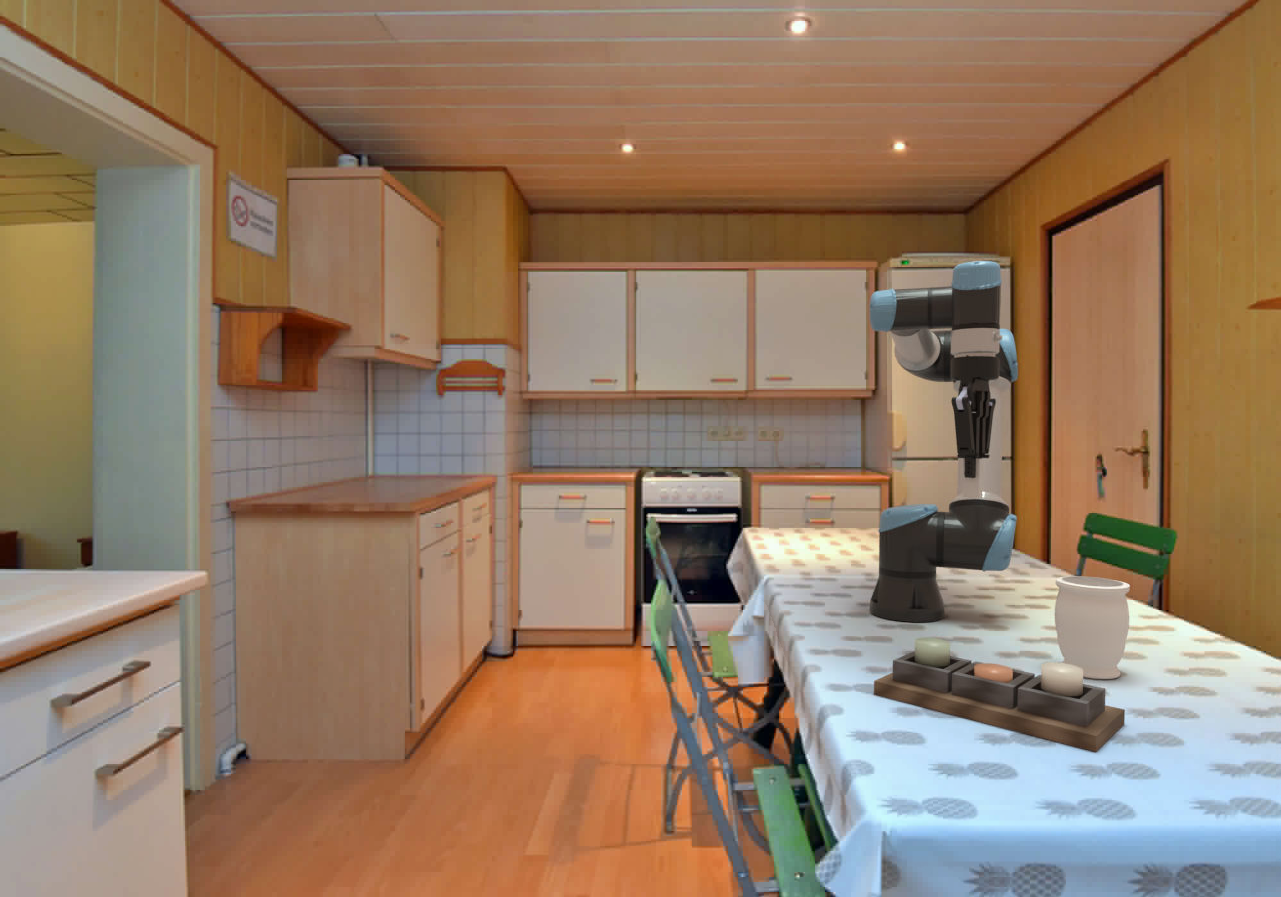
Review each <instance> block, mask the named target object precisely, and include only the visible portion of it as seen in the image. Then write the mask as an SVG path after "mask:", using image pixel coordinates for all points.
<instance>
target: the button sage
mask: <svg viewBox="0 0 1281 897" xmlns="http://www.w3.org/2000/svg"><path fill="white" fill-rule="evenodd" d="M914 651H915V662H917V663H919V664H922V665H927V666H932V667H944V666H948V665H950V656H951V642H950V641H948V640H945V639H942V638H936V637H919V638H915V640H914Z"/></svg>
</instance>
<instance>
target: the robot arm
mask: <svg viewBox="0 0 1281 897" xmlns="http://www.w3.org/2000/svg"><path fill="white" fill-rule="evenodd" d="M1001 271H1002V270H1001V266H1000V264H999V263H998V262H995V261H990V260H989V261H988V260H978V261H974V260H973V261H968V262H962V263H960V264H957V265H956V266H954V268H953V269H952V279H951V281H952V282H951V285H950V286H934V287H917V288H915V287H914V288H913V287H912V288H899V289H898V288H897V289H895V288H889V289H885V290H876V291H875V292H873V293H872V294H871V296H870V301H869V322H870V328H871V329H872V330H873V331H874V332H884V333H888V332H889V334H890V337H891V338H892V340H893V342H894V343H893V344H894V350H893V352H894V356H895V359H896V361H897V363H898V365H900V366H901V368H902V369H903V370H905V371H906V372H908V373H909V374H911V375H913V376H915V377H917V378H920V379H923V380H926V381H930V382H936V383H937V382H938V383H953V385H952V387H953V390H954V391H955V392H956V393H957V397H956V396H953V397H952V398H951V401H950V403H951V406H952V409H953V416H954V426H955V429H954V430H955V439H956V440H955V441H956V452H957V453H956V454H957V455H956V456H957V482H956V483H957V485H956V486H957V487H956V497H955V498H953V499H952V500H951V501H949V504H948V511H939V508H938V506H937V505H936V504H934V503H927V504H926V503H921V504H920V503H919V504H907V505H899V506H892V507H888V508H886V509H883V510H882V511H881V513H880V516H879V528H878V530H877V532H878V533H879V534H878V535H879V536H878V537H879V538H878V539H879V541H878V544H879V545H878V546H879V548H878V550H879V551H878V552H879V553H878V578H877V580H876V582H875V586H874V589H873V592H872V594H871V597H870V601H869V612H870V613H871V614H872V615H874V616H876V617H878V618H882V619H887V620H893V621H899V622H911V623H913V622H915V623H923V622H924V623H926V622H928V623H929V622H935V621H936V622H937V621H940V620H943V619H944V618H945V612H946V611H945V610H946V609H945V604H944V600H943V597H942V594H941V590H940V588H939V584H938V581H937V568H945V569H957V570H974V571H982V572H989V571H990V572H995V571H996V572H1003V571H1005V570H1007V569H1008V568H1009V566H1010V563H1011V558H1012V551H1013V547H1014V540H1015V533H1016V526H1017V520H1018V517H1017V515H1015V514H1013V513H1010V505H1009V504H1008V503H1007V502H1006V501H1005V500H1003V498H1002V484H1003V483H1002V481H1003V480H1002V474H1003V473H1002V469H1003V468H1002V467H1003V405H1004V404H1003V403H1004V402H1003V401H1004V400H1003V399H1004V394H1006V393H1007V392H1009V391H1010V389H1011V386H1012V385H1011V384H1012V383H1013V382H1015V381H1017V380H1018V377H1019V369H1018V368H1019V366H1018V356H1017V349H1016V342H1015V338H1014V334H1013V333H1012V332H1011V330H1009V329H1007V328H1001V324H1000V322H1001V321H1000V320H1001V302H1002V299H1001V297H1002V296H1001V295H1002V294H1001V290H1002V276H1001V274H1002V272H1001ZM942 329H943V330H942ZM944 329H950V330H944Z"/></svg>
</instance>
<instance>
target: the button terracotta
mask: <svg viewBox="0 0 1281 897" xmlns="http://www.w3.org/2000/svg"><path fill="white" fill-rule="evenodd" d="M1012 669H1013V668H1011V667H1010V666H1009V667H1008V666H1005V665H1002V664H998V663H987V662H985V663H984V662H981V664H976V665H975V666H974V676H976V677H981V678H985V679H990V680H994V681H999V682H1003V683H1009V682H1010V681H1012V680H1013V670H1012Z"/></svg>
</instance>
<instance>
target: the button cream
mask: <svg viewBox="0 0 1281 897" xmlns="http://www.w3.org/2000/svg"><path fill="white" fill-rule="evenodd" d="M1040 668H1041V669H1040V670H1041V671H1040V675H1041V689H1043V690H1044V691H1046V692H1049V693H1053V694H1057V695H1062V696H1080V695H1082V694H1083V684H1084V677H1083V669H1081V668H1080V667H1077V666H1074V665H1070V664H1065V663H1062V662H1056V661H1055V662H1054V661H1051V662H1043V663H1042V664H1041V666H1040Z"/></svg>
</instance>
